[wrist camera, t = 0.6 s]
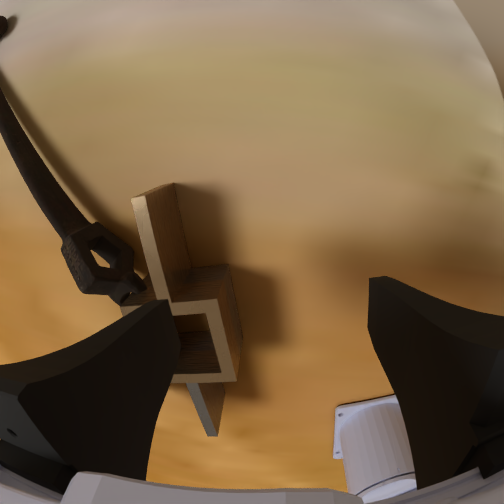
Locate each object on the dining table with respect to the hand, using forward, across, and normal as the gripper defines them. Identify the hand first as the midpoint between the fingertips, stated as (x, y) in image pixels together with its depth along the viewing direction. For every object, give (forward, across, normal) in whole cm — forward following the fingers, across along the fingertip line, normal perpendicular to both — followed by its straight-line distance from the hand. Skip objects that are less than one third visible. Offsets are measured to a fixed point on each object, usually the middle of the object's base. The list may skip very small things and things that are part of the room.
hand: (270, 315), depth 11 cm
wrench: (+10, +15, -10) cm, 21 cm away
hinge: (+10, +6, +5) cm, 13 cm away
